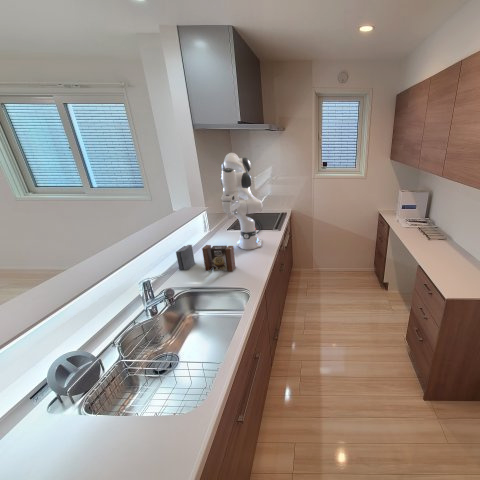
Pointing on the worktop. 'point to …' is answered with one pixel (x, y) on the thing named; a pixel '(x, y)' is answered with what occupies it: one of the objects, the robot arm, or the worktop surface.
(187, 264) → the grey books
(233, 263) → the brown wooden bookends
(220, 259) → the coffee box
